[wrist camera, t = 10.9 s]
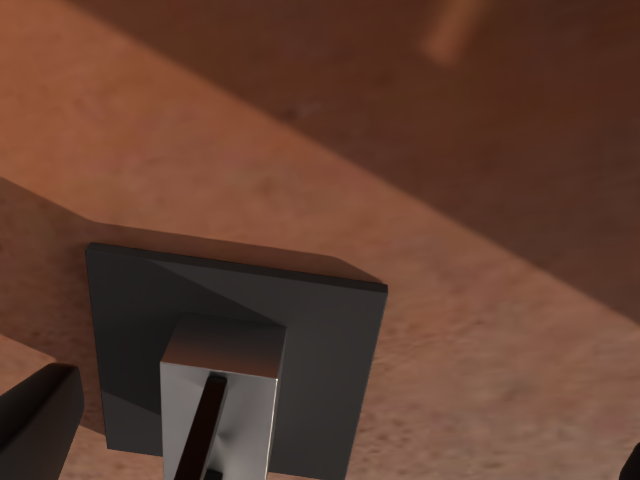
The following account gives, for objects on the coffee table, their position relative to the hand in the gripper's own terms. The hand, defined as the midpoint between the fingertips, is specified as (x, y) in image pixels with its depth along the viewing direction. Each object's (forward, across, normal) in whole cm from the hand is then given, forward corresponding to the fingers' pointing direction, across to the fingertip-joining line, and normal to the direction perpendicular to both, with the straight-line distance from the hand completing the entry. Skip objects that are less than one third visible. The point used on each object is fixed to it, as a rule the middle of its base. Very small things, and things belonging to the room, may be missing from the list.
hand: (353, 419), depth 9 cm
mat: (+12, +4, +12) cm, 18 cm away
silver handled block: (+12, +4, +12) cm, 17 cm away
